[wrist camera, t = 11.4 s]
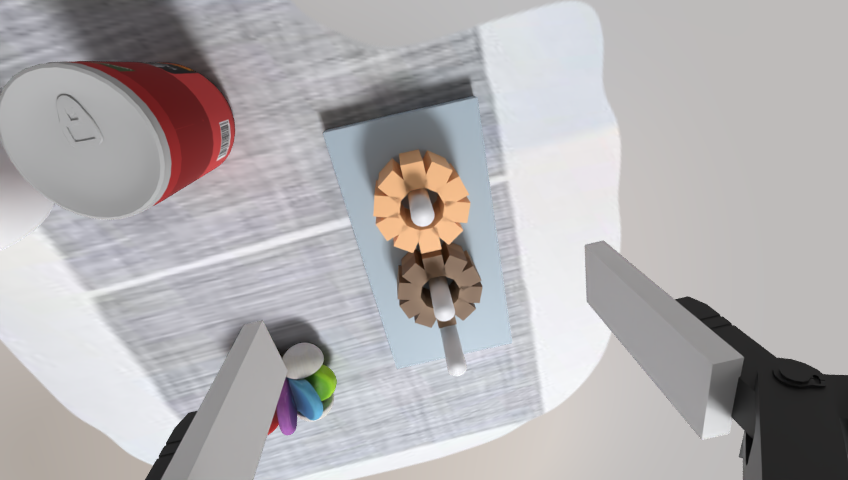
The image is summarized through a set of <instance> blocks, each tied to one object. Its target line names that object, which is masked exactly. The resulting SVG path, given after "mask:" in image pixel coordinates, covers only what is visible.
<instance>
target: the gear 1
mask: <svg viewBox="0 0 848 480" xmlns="http://www.w3.org/2000/svg"><path fill="white" fill-rule="evenodd" d="M399 159H400V164H398V163H397V162H396V161H395V160H394V159H393V158H391V160H390V161H389V162H388V163H387V164H386V165H385V167H384V168H383V169H382V170H381V171H380V172H379V179H378V180H376V185H375V194H374V211H373V216H374V217H376V226H377V227H378V229H379V230H380V232H381V233H382V235H383V236H384V237H385V239H386V240H387V241H388V240H390V239H392V238H393V241H394V246H395V247H397V248H400V249H403V250H406V251H408V252H411V253H413V252H414V250H415V248H416V246H417V244H418V242H419V246H420V250H421V254H422V253H426V252H431V251H435V250H440V249H442V248H441V244H440V239H439V237H440V238H441V239H442V240H443V241H445V242H446V243H447V244H448V245H449V244H450V243H451V242H452V241H453V240H454V239H455V238H456V237H457V236H458V235H459V234H460V233H461V232H462V231H463V228H462V226H461V224H460V223H467V222H468V216H469V210H470V201H469V199H468V198H467V196H468V195H469V193H468V191H467V190H466V188H465V186H464V184H463V182H462V180H461V179H460V177H459V175H458V174H457V172H456V170H455V169H454V167H453V166H452V164H451V163H450V164H448V162H447V160H446V159H445V158H444V157H442V156H440V155H437V154H435V153H433V152H430V151H428V150H427V151H426V153H425V155H424V157H423V160H422V157H421V154H420V151H419V149H417V150H413V151H409V152H404V153H400V154H399ZM424 187H425V188H427V189H430V190H432V191H434V192H437V193H438V194H437V201H436V202H435V203H434V204H433V205H432V207H433V211H434V220H433V221H432V223H431V224H429V225H428V226H424V227H421V226H417V225H416V224H414V223H413V221H412V219H411V213H410V210H409V209H407V208H405V207H404V206H403V204H402V203H401V200H402V199H403V198H404V197H405V196H406V195H407V194H408V193H409V192H410V191H411V190H415V189H420V188H424Z"/></svg>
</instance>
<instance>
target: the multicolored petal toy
mask: <svg viewBox="0 0 848 480" xmlns="http://www.w3.org/2000/svg"><path fill="white" fill-rule="evenodd" d="M282 360H283V362H284V364H285V366H286V368H287V370H288V371H287V375H286V378H285V381H284V384H283V387H282V390H281V394H280V397H279V400H278V403H277V406H276V409H275V413H274V416H273V419H272V422H271V425H270V428H269V432H268V435H269V434H270V433H272V432H273V431H274V430H275V429H276V428H277V426H278V425H279V426H280V429H281V431H282V433H283V434H285V435H291V434H293V433H294V432H295V430H296V426H297V415H298V416H299V417H300V418H301V419H303V420H305V421H310V422H312V421H317V420H320V419H322V418H323V417H325V416H326V415H327V414H328V413H329V411H330V410H331V408H332V406H333V402H334V394H333V392H334V390H335V388H336V384H337V380H336V376H335V374H334V373H333V371H332V370H331V369H330V368H328V367H327V366H325V365H323V361H324V356H323V353H322V351H321V350H320V349H319V348H318V347H317V346H315V345H314V344H311V343H299V344H296V345H294V346H292V347H291V348H289V349H288V350H287V352H286V353H285V354H284V356H283V358H282Z"/></svg>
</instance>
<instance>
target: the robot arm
mask: <svg viewBox="0 0 848 480" xmlns="http://www.w3.org/2000/svg"><path fill="white" fill-rule="evenodd" d="M585 267H586V294H587V302H588V304H589V305H590V306H591V307H592V308H593V310H594V311H595V312H596V313H597V314H598V316H599V317H600V318H601V319H602V320H603V322H604V323H605V324H606V325H607V327H608V328H609V329H610V330H611V331H612V333H613V334H614V335H615V336H616V337H617V338H618V340H619V341H620V342H621V343H622V345H623V346H624V347H625V348H626V349H627V351H628V352H629V353H630V354H631V355H632V356H633V358H634V359H635V360H636V361H637V363H638V364H639V365H640V366H641V367H642V369H643V370H644V371H645V372H646V373H647V375H648V376H649V377H650V378H651V379H652V381H653V382H654V383H655V384H656V385H657V387H658V388H659V389H660V390H661V391H662V392H663V394H664V395H665V396H666V398H667V399H668V400H669V401H670V402H671V404H672V405H673V406H674V407H675V408H676V410H677V411H678V412H679V413H680V414H681V416H682V417H683V418H684V419H685V420H686V421H687V423H688V424H689V425H690V426H691V428H692V429H693V430H694V431H695V432H696V434H697V435H698V436H699V437H700V438H701V440H703V439H708V438H712V437H716V436H721V435H725V434H729V433H730V428H731V423H732V418H733V419H734V420H735V421H736V422H737V423H738V424H739V425H740V426H741V427H742V428H743V429H744V430H745V431H744V436H743V440H742V445H741V450H740V454H739V457H740V458H743V480H848V375H826V374H822V373H821V372H820V371H818V370H817V369H815V368H813V367H811V366H809V365H807V364H805V363H802V362H799V361H795V360H792V359H784V358H776V357H775V356H774V355H772V354H771V353H770V352H768V351H767V350H766V349H764V348H763V347H762V346H761V345H759V344H758V343H757V342H755V341H754V340H753V339H751V338H750V337H749V336H747V335H746V334H745V333H743V332H742V331H741V330H740V329H738V328H737V327H736V326H732V324H731V323H730V322H729V321H728V320H726V319H725V318H724V317H721V316H720V314H719V313H717V312H716V311H714V310H713V309H712V308H711V307H709V306H708V305H707V304H705V303H702V302H700V301H698V300H695V299H693V298H691V297H684V298H679V299H673V298H672V297H671V296H670V295H668V294H667V293H666V292H665V291H664V290H662V289H661V288H660V287H659V286H658V285H656V284H655V283H654V282H653V281H652V280H650V279H649V278H648V277H647V276H646V275H644V274H643V273H642V272H641V271H639V270H638V269H637V268H636V267H635V266H634V265H632V264H631V263H630V262H629V261H628V260H626V259H625V258H624V257H623V256H622V255H620V254H619V253H618V252H617V251H616V250H614V249H613V248H612V247H611V246H610V245H608V244H607V243H606V242H605V241H600V242H596V243H591V244H587V245H585ZM287 371H288V370H287V368H286V366H285V364H284V362H283V360H282V358H281V356H280V354H279V352H278V350H277V348H276V346H275V344H274V342H273V340H272V338H271V336H270V334H269V332H268V330H267V328H266V326H265V324H264V322H263V320H261V321H257V322H253V323H248V324H244V326H243V327H242V329H241V331H240V333H239V335H238V337H237V339H236V340H235V342H234V344H233V346H232V348H231V350H230V352H229V353H228V355H227V357H226V359H225V361H224V363H223V365H222V367H221V368H220V370H219V372H218V374H217V376H216V378H215V380H214V381H213V383H212V385H211V387H210V389H209V391H208V393H207V395H206V396H205V398H204V400H203V402H202V404H201V406H200V408H199V409H198V411H195V412H191V413H188V414H187V415H186V416H185V417H184V419H183V420H182V421H181V422H180V423H179V424H178V425H177V426H176V427H175V428H174V430H173V432H172V434H171V435H170V437H169V439H168V441H167V442H166V446H164V448H163V449H162V451H161V453H160V455H159V459H157V460H156V462H155V463H154V465H153V467H152V469H151V470H150V472H149V474H148V476H147V477H146V479H145V480H253V479H254V476H255V473H256V470H257V466H258V463H259V460H260V457H261V454H262V451H263V447H264V444H265V441H266V438H267V435H268V432H269V428H270V425H271V422H272V419H273V416H274V413H275V409H276V406H277V403H278V400H279V397H280V394H281V390H282V387H283V384H284V381H285V378H286V375H287Z"/></svg>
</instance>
